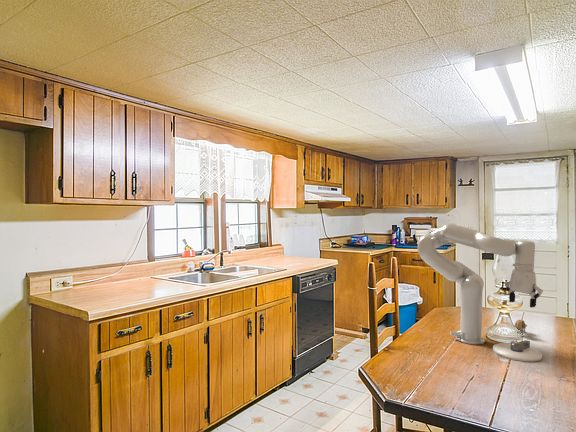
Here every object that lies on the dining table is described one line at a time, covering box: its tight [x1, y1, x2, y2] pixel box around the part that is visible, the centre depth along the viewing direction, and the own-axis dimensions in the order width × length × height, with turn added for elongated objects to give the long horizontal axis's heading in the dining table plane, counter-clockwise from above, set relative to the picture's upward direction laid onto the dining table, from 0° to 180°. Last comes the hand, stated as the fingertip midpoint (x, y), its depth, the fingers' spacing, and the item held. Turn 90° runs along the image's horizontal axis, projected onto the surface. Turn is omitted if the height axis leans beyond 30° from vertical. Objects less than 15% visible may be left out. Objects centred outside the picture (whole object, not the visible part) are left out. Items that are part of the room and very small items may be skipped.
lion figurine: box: [514, 319, 528, 337], centre depth 206 cm, size 15×5×9 cm, turn 151°
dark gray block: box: [510, 339, 531, 352], centre depth 179 cm, size 10×5×3 cm, turn 117°
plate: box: [492, 342, 543, 363], centre depth 178 cm, size 19×19×2 cm
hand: (522, 304), depth 184 cm, fingers open, 9 cm apart
